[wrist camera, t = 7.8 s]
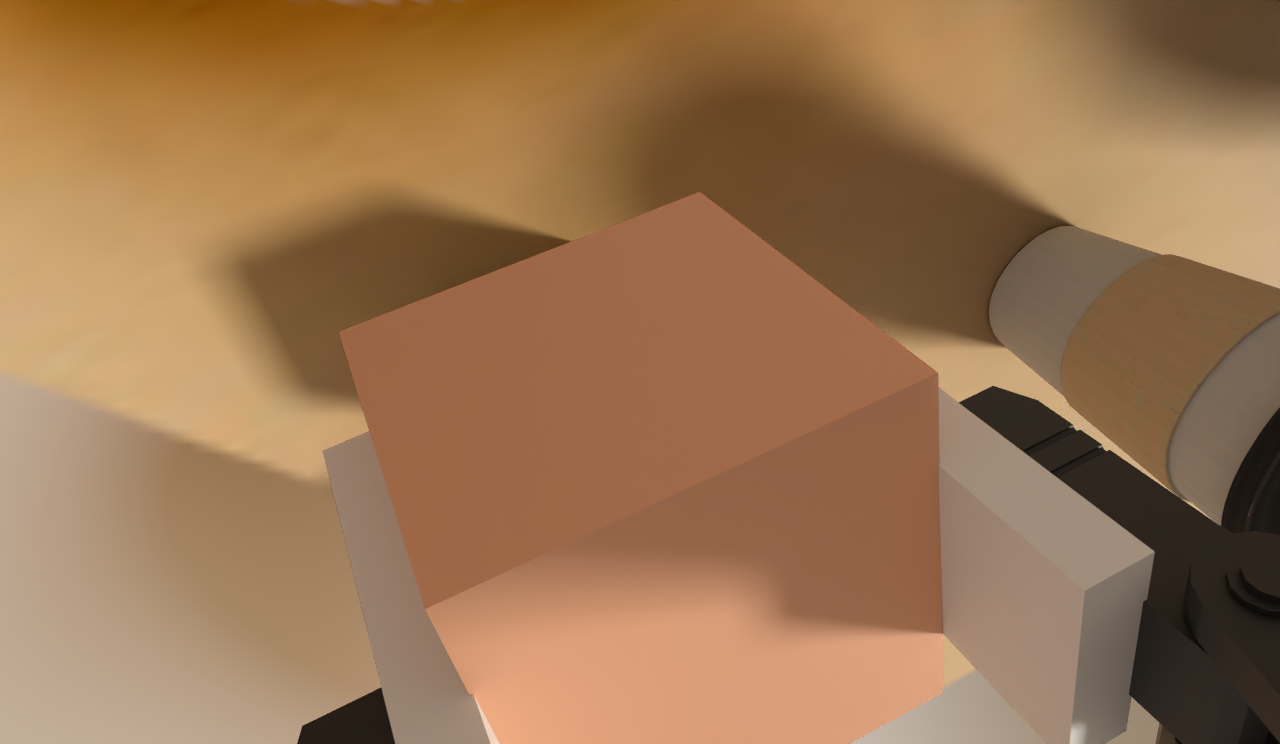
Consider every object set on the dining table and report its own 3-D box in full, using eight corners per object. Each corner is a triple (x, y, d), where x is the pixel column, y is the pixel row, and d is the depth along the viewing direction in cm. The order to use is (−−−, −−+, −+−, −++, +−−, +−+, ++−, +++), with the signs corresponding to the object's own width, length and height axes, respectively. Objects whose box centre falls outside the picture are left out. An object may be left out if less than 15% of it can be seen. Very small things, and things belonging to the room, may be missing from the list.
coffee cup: (1058, 392, 45) (1375, 601, 33) (917, 370, 40) (1228, 605, 29) (1162, 206, 42) (1555, 367, 30) (1021, 160, 37) (1422, 328, 25)
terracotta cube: (699, 191, 13) (937, 373, 9) (748, 464, 16) (943, 691, 12) (338, 332, 12) (424, 608, 8) (463, 596, 15) (572, 894, 11)
